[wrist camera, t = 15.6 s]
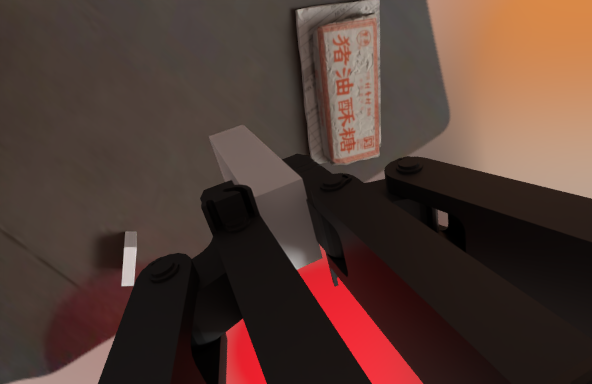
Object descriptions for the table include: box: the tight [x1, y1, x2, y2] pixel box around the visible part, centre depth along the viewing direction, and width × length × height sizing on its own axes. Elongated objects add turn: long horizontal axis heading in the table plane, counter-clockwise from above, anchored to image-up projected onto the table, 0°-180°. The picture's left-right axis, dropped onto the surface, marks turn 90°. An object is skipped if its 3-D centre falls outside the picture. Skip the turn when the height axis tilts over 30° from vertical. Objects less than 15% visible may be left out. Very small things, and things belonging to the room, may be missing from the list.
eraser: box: [122, 231, 137, 286], centre depth 42 cm, size 1×5×4 cm, turn 167°
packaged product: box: [295, 0, 381, 165], centre depth 43 cm, size 18×5×10 cm
